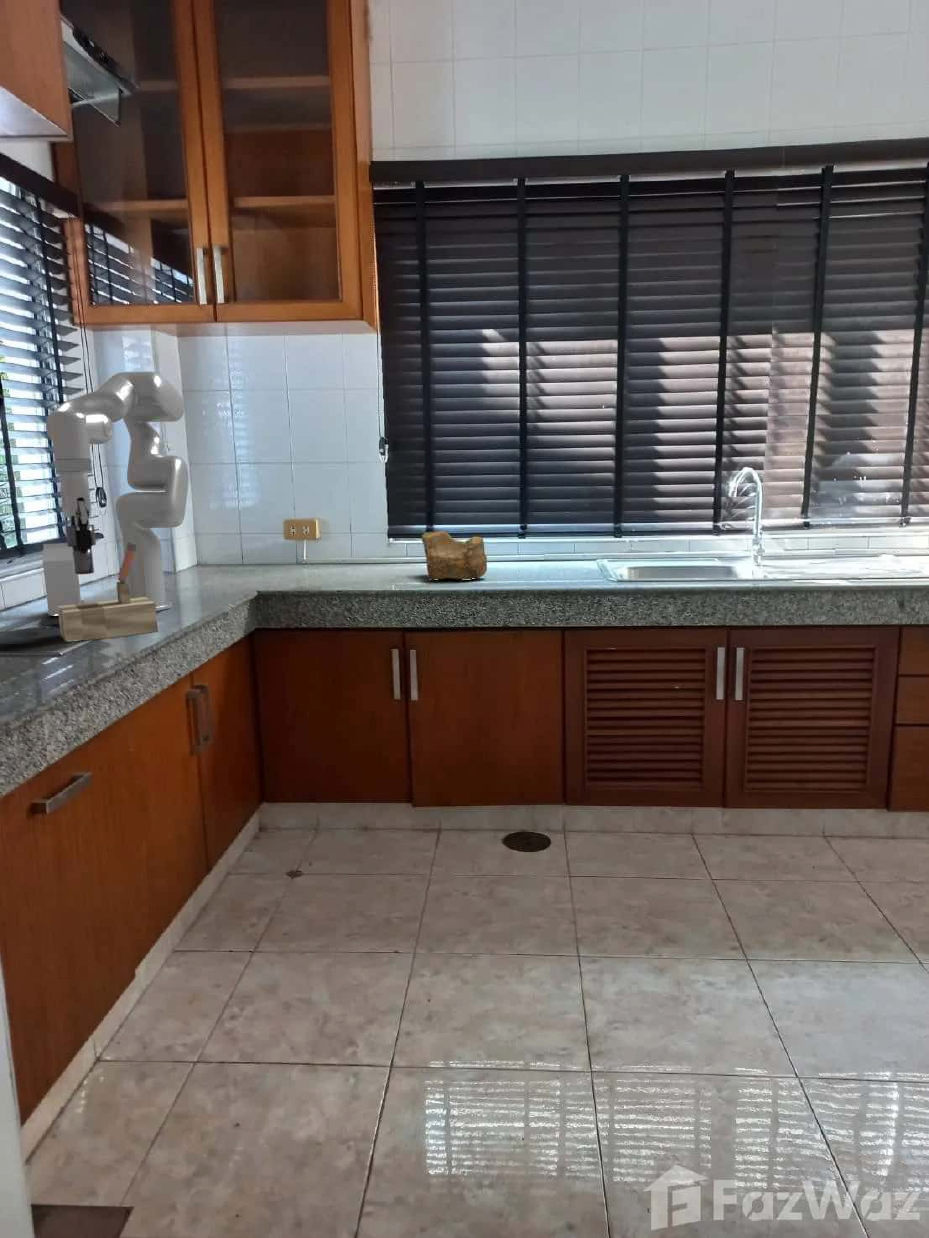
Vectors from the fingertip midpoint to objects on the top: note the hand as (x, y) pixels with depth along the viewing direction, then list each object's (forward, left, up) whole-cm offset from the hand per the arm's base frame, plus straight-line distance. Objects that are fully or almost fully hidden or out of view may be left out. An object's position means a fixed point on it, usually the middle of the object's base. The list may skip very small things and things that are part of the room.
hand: (82, 545), depth 195 cm
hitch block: (0, +4, -21) cm, 22 cm away
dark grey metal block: (0, 0, -6) cm, 6 cm away
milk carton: (-32, -1, -22) cm, 39 cm away
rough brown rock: (-19, +111, -22) cm, 115 cm away
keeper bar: (0, +9, -5) cm, 10 cm away
